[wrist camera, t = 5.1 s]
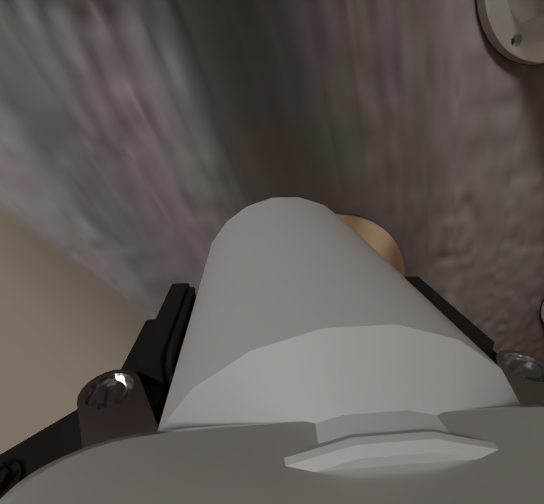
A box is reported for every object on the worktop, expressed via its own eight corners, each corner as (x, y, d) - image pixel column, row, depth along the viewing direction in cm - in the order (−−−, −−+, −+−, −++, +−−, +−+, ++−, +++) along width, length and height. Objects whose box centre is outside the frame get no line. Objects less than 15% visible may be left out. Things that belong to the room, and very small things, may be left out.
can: (335, 331, 17) (491, 686, 6) (202, 320, 16) (114, 717, 5) (371, 204, 15) (750, 435, 4) (215, 181, 14) (89, 405, 3)
